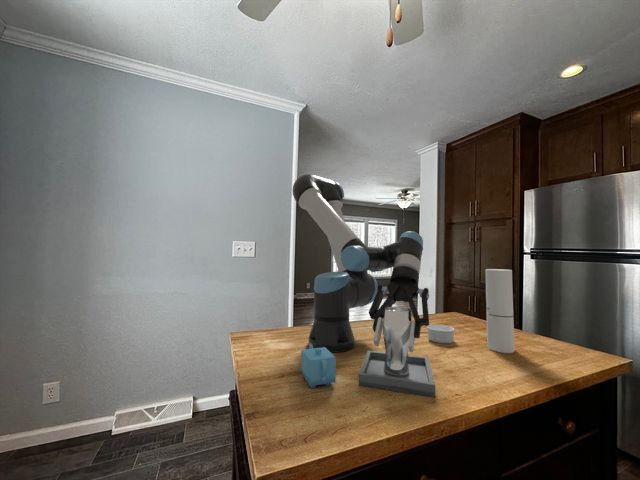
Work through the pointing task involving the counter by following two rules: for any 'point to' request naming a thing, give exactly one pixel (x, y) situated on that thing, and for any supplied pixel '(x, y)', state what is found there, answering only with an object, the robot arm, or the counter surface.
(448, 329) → the ramekin
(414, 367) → the tray
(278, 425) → the counter surface
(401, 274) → the robot arm
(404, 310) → the beer glass
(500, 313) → the cylindrical container
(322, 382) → the teapot
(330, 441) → the counter surface
